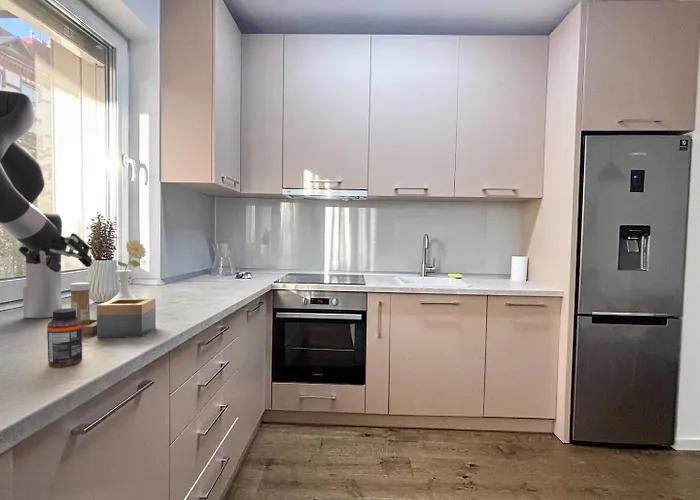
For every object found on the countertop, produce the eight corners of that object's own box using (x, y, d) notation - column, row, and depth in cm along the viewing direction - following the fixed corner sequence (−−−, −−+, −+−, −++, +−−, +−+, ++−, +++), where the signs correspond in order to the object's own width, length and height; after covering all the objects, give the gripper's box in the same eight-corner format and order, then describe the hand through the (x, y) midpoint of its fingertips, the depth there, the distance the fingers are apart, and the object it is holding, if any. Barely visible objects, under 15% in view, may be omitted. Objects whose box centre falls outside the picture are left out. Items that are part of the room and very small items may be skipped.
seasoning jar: (90, 332, 117) (90, 283, 116) (70, 334, 114) (70, 284, 114) (89, 329, 120) (89, 281, 120) (70, 331, 118) (69, 282, 117)
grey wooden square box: (97, 337, 111) (96, 305, 110) (114, 328, 122) (114, 298, 121) (142, 337, 112) (141, 304, 112) (155, 327, 123) (155, 298, 123)
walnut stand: (47, 336, 111) (47, 327, 111) (69, 327, 122) (69, 319, 122) (92, 336, 112) (92, 326, 112) (110, 327, 123) (110, 318, 123)
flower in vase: (114, 313, 143) (113, 239, 142) (100, 309, 150) (99, 238, 149) (152, 308, 153) (152, 239, 152) (137, 305, 160) (137, 238, 160)
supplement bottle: (58, 359, 92) (58, 307, 91) (88, 359, 92) (87, 307, 92) (41, 368, 86) (40, 312, 85) (72, 368, 86) (71, 312, 86)
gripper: (63, 208, 100) (104, 251, 112) (6, 218, 101) (53, 259, 113) (51, 232, 95) (96, 274, 108) (-8, 242, 96) (43, 283, 109)
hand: (74, 267), depth 111 cm, fingers open, 8 cm apart
